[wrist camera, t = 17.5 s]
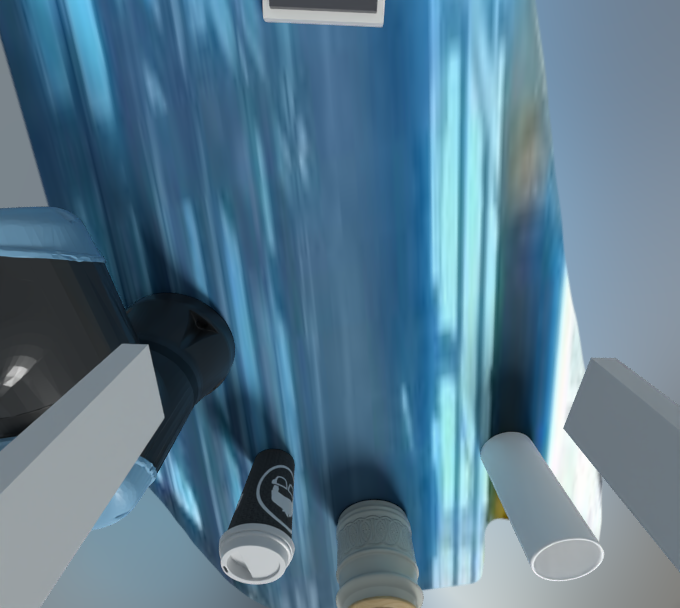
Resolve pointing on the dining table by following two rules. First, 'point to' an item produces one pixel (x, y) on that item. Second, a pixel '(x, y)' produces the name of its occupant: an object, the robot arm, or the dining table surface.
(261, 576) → the coffee cup
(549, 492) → the cup
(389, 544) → the jar
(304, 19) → the ink pad
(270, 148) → the dining table surface
